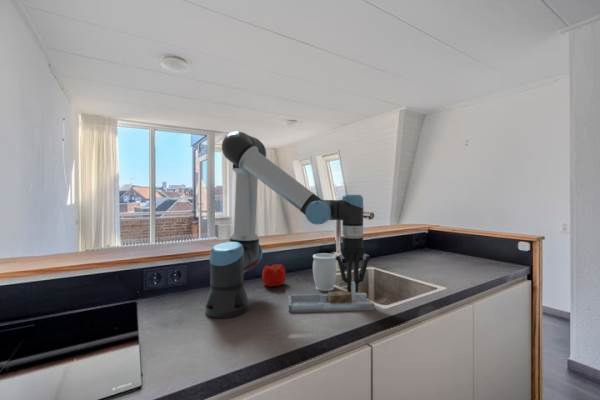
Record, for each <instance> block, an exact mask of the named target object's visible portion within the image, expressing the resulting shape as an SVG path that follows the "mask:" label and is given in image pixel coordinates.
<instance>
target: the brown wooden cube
mask: <svg viewBox="0 0 600 400" xmlns="http://www.w3.org/2000/svg"><path fill="white" fill-rule="evenodd" d="M339 293H340V294H341V303H342V302H352V294H351V293H350V292H348V291H347V290H339Z"/></svg>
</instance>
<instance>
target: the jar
mask: <svg viewBox="0 0 600 400" xmlns="http://www.w3.org/2000/svg"><path fill="white" fill-rule="evenodd" d="M336 255H337V254H334V253H328V252H323V253H322V252H320V253H314V254H312V258H313V261H312V275H313V281H314V284H315V289H316V290H318V291H323V292H331V291H333V290H334V289H335V287H334V286H335V284H336V279H337V273H338V271H337V270H338V267H337V266H338V265H337V259H336V258H335V256H336Z"/></svg>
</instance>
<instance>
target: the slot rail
mask: <svg viewBox="0 0 600 400" xmlns="http://www.w3.org/2000/svg"><path fill="white" fill-rule="evenodd" d="M287 300H288V302H287V303H288V304H287V305H288V312H289V313H305V312H308V313H311V312H344V311H375V310H376V309H375V302H373V301H369V300H368V294H367V293H366V292H355V302H342V303H328V293H304V294H303V293H302V294H301V293H299V294H296V293H295V294H288V298H287Z"/></svg>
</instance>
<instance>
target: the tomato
mask: <svg viewBox="0 0 600 400" xmlns="http://www.w3.org/2000/svg"><path fill="white" fill-rule="evenodd" d="M261 272H262V273H261V274H262V275H261V278H262V282H263V284H264V285H265V286H267V287H269V288H272V287H279V286H282V285H283V284H284V283H285V282H286V277H287V276H286V268H285V267H284V265H283V264H280V263H279V264H276V263H275V264H272V265H267V264H266V265H265V266H264V267H263V269H262V271H261Z"/></svg>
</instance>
